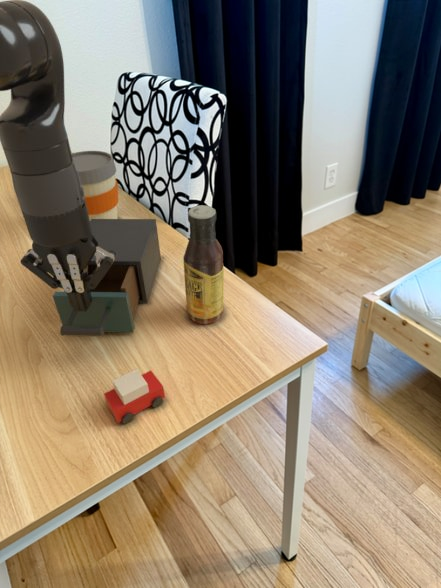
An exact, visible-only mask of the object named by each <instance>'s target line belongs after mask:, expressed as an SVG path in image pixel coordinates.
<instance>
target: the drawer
mask: <svg viewBox="0 0 441 588" xmlns="http://www.w3.org/2000/svg"><path fill="white" fill-rule="evenodd" d="M96 268H97V265H88V276H89V275H92V274H93V272H94V271H95V269H96ZM90 292H91V296H92V303H91V305H90V307H89V308H88V309H87V311H86V312H84V311H75V308H72V306H71V305H70V302H69V299H68V296H67V292H65V291H64V290H63V291H55V292H54V293H53V295H52V299H53V301H54V305H55V308H56V310H57V313H58V317H59V319H60V322H61V326H60V330H59V331H60V335H61V336H70V337H71V336H72V337H103V336H104V335H105V333H134V331H135V329H136V326H135V321H134V316H135V313H136V310H137V307H138V304H139V303H138V301H139V298H140V295H141V288H140V282H139V277H138V271H137V265H112V266H111V267H110V269H109V270H108V272H107V273H106V274H105V276H104V277H103V278H102V280H101V281H100V283H99V284H98V285H97V287H96V288H95V289H93V290H92V289H90Z"/></svg>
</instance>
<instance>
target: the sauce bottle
mask: <svg viewBox="0 0 441 588" xmlns="http://www.w3.org/2000/svg"><path fill="white" fill-rule="evenodd" d="M187 221H188V223H189V239H188V241H187V245H186V248H185V251H184V254H183V258H182V259H183V272H184V275H183V276H184V289H185V301H186V310H187V313H188V317H189V318H190V320H191V321H193V322H195V323H198V324H200V325H208V324H212V323H215V322H217V321H218V320H219V319H220V318H221V317H222V316H223V313H224V310H223V309H224V251H223V248H222V245H221V244H220V242H219V240H218V239H217V237H216V236H217V234H216V233H217V232H216V221H217V211H216V209H215V208H213V207H212V206H210V205H203V204H201V205H196V206H193V207H190V209H189V210H188V212H187Z"/></svg>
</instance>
